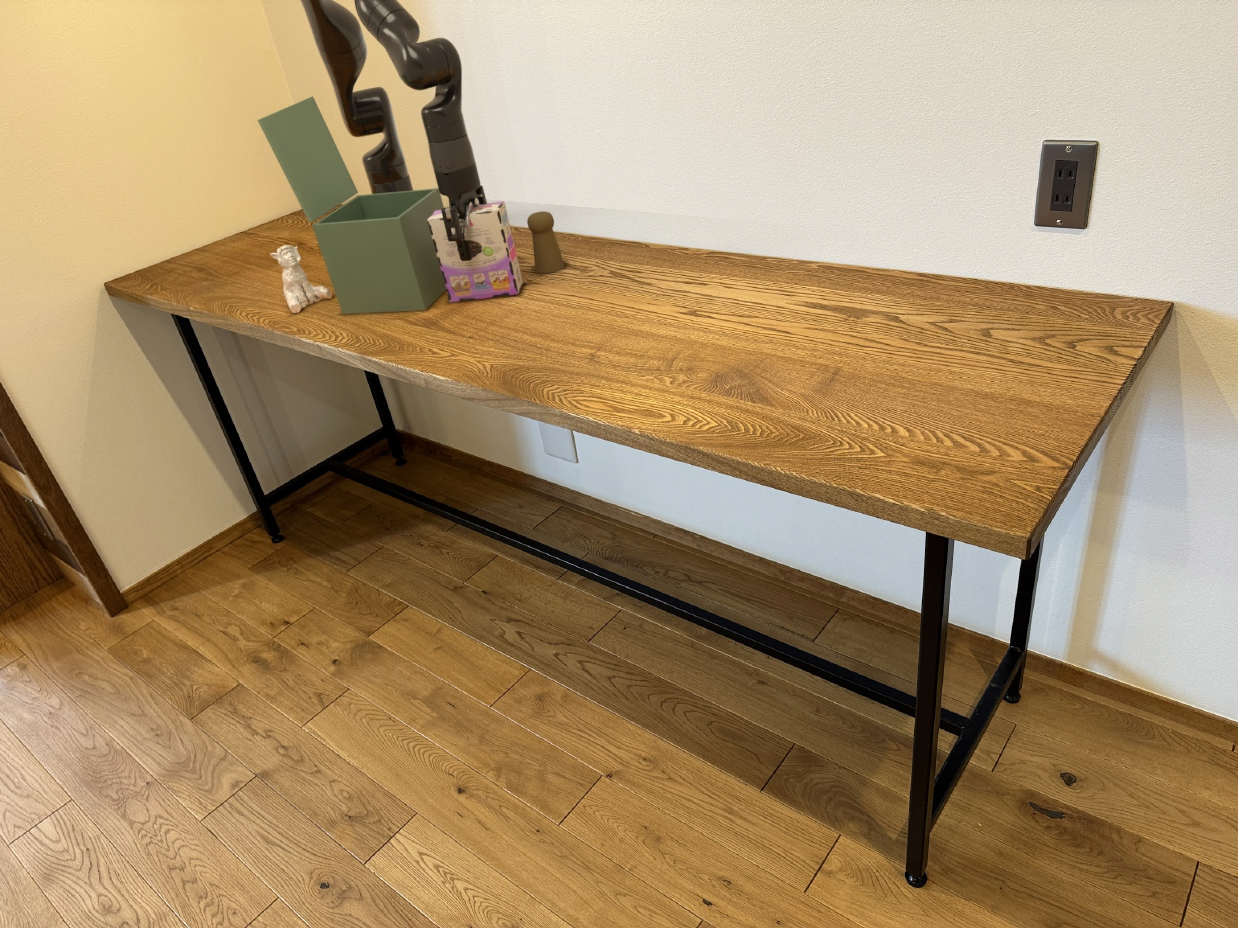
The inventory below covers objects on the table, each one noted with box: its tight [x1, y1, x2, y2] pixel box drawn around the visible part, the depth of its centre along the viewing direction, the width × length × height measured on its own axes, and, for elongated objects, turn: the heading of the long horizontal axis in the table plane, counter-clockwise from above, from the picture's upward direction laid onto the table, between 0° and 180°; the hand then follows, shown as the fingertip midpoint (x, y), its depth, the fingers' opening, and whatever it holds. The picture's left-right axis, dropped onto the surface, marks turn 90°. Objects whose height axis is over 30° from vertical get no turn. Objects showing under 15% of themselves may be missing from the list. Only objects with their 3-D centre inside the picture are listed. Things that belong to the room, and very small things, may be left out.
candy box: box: [427, 200, 524, 303], centre depth 167 cm, size 14×6×16 cm, turn 84°
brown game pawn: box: [526, 210, 565, 274], centre depth 175 cm, size 6×6×11 cm
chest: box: [311, 187, 447, 315], centre depth 173 cm, size 18×18×18 cm
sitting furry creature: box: [269, 244, 333, 314], centre depth 180 cm, size 10×9×12 cm
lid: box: [257, 95, 359, 224], centre depth 167 cm, size 19×18×5 cm
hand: (475, 251), depth 166 cm, fingers open, 8 cm apart
